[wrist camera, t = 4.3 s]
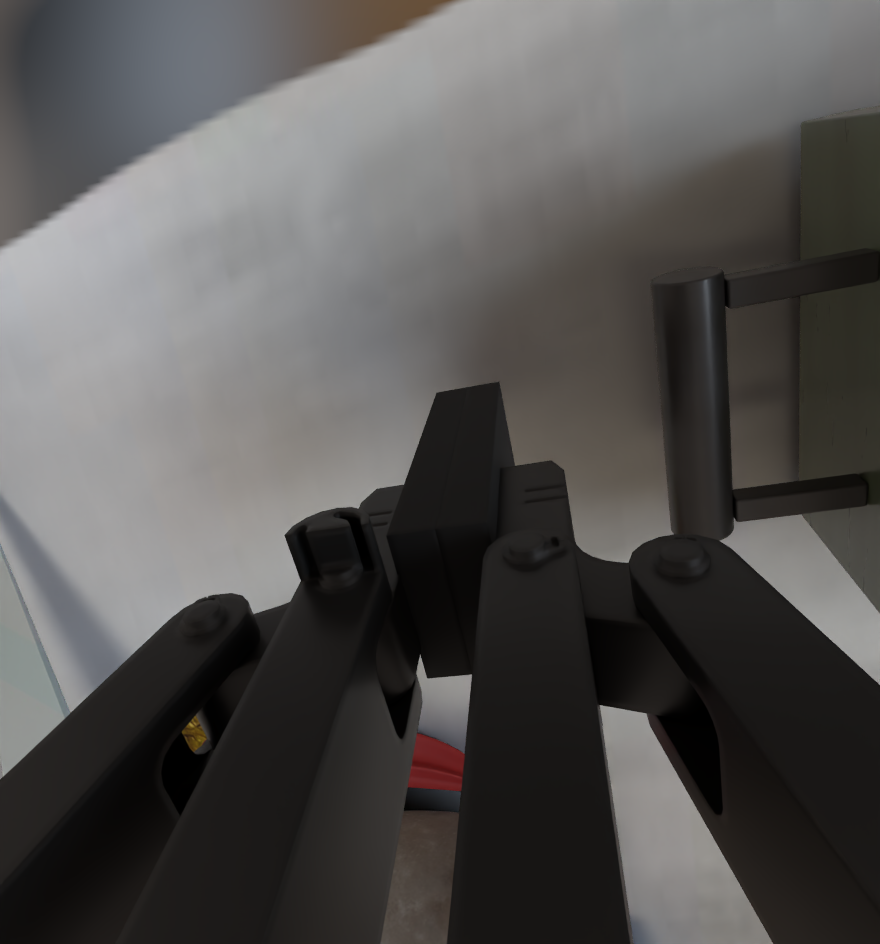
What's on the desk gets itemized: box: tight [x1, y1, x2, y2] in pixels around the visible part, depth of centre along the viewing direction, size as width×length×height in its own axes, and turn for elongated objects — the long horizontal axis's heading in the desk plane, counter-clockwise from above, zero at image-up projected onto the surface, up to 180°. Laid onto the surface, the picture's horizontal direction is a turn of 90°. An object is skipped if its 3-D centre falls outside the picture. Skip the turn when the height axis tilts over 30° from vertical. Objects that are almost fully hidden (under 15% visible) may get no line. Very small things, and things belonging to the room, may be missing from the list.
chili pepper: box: [202, 733, 465, 791], centre depth 25 cm, size 12×5×2 cm
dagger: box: [0, 544, 70, 776], centre depth 23 cm, size 12×3×30 cm
